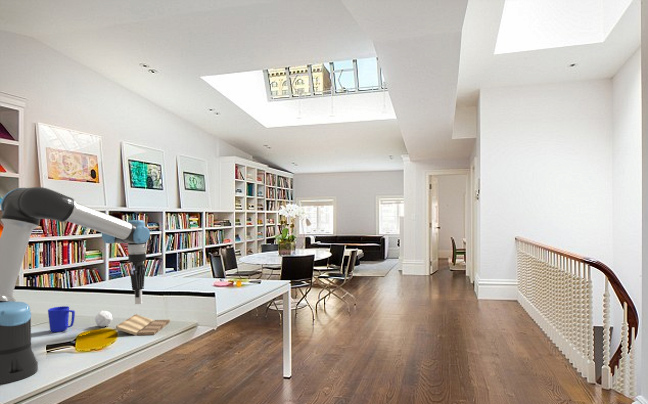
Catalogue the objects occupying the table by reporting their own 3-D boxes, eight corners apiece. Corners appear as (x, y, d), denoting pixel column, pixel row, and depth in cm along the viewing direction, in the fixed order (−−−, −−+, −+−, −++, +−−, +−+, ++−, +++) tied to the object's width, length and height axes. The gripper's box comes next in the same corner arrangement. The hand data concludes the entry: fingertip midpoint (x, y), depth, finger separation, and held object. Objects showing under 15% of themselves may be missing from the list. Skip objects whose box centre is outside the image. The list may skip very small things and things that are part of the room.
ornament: (93, 329, 194) (89, 313, 198) (105, 330, 201) (101, 315, 204) (105, 321, 194) (102, 305, 197) (117, 323, 200) (113, 308, 204)
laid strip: (154, 334, 184) (154, 331, 184) (136, 335, 183) (136, 332, 183) (170, 322, 204) (169, 319, 204) (154, 322, 203) (154, 319, 203)
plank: (135, 335, 183) (136, 332, 183) (115, 328, 183) (116, 325, 183) (153, 322, 203) (153, 319, 203) (134, 316, 203) (135, 313, 203)
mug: (67, 333, 188) (66, 311, 188) (43, 332, 191) (43, 310, 191) (81, 328, 196) (80, 306, 196) (58, 327, 199) (58, 306, 199)
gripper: (139, 254, 194) (141, 306, 194) (150, 251, 207) (152, 300, 207) (122, 255, 194) (124, 307, 194) (134, 251, 207) (136, 300, 207)
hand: (138, 303), depth 200 cm, fingers closed
